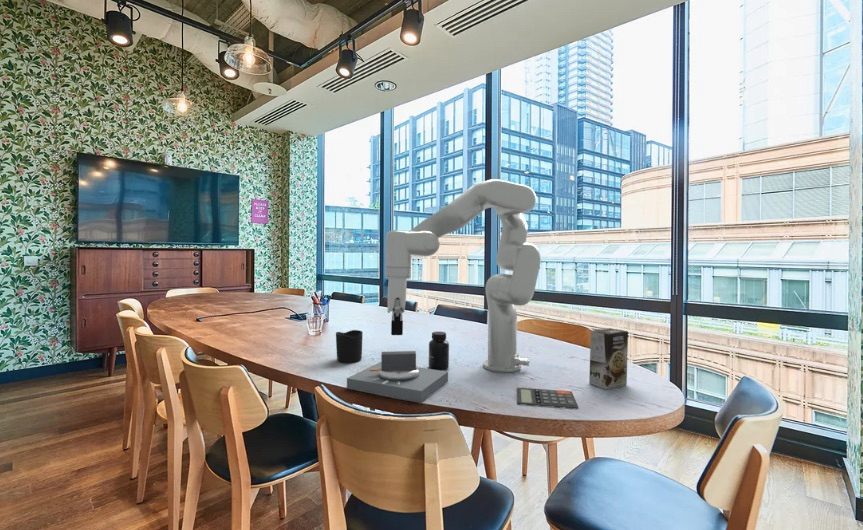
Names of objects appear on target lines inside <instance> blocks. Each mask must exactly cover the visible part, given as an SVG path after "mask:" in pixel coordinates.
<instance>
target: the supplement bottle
mask: <svg viewBox="0 0 863 530" xmlns="http://www.w3.org/2000/svg"><path fill="white" fill-rule="evenodd" d="M446 339H447V332H445V331H433V332H431V340H430V341H429V342H428V369H433V370H440V371H446V370H448V369H449V365H450V342H449V341H448V340H446Z"/></svg>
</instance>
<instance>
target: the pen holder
mask: <svg viewBox="0 0 863 530" xmlns="http://www.w3.org/2000/svg"><path fill="white" fill-rule="evenodd" d="M335 343H336V344H335V347H336V348H335V349H336V361H337V362H339V363H342V364H354V363H359V362H360V361H361V360H362V357H363V331H362V330H358V329H352V330H349V331H347V332H341V331H337V332H335Z"/></svg>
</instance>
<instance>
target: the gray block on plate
mask: <svg viewBox="0 0 863 530" xmlns="http://www.w3.org/2000/svg"><path fill="white" fill-rule="evenodd" d="M416 352H417V351H416V350H407V351H406V350H403V351H401V350H400V351H396V350H394V351H381V357H380V358H381V361H380V362H381V367H380V368H379V369H370V371H378V376H379V377H380V378H383V379H386V380H393V381H402V380H409V379H413V378H415V377H417V376H418V375H419V368H420V367H419V366H418V365H417V353H416Z"/></svg>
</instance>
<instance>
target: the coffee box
mask: <svg viewBox="0 0 863 530" xmlns="http://www.w3.org/2000/svg"><path fill="white" fill-rule="evenodd" d="M589 344H590V347H589V374H588V375H589V381H588V383H589V384H590V385H594V386H596V387H599V388H601V389H604V390H610V389H615V388H619V387H623V386H627V385H628V384H627V383H628V349H629V345H628V344H629V331H627V330H623V329H618V328H610V327H609V328H600V329H593V330H590V343H589Z"/></svg>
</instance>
